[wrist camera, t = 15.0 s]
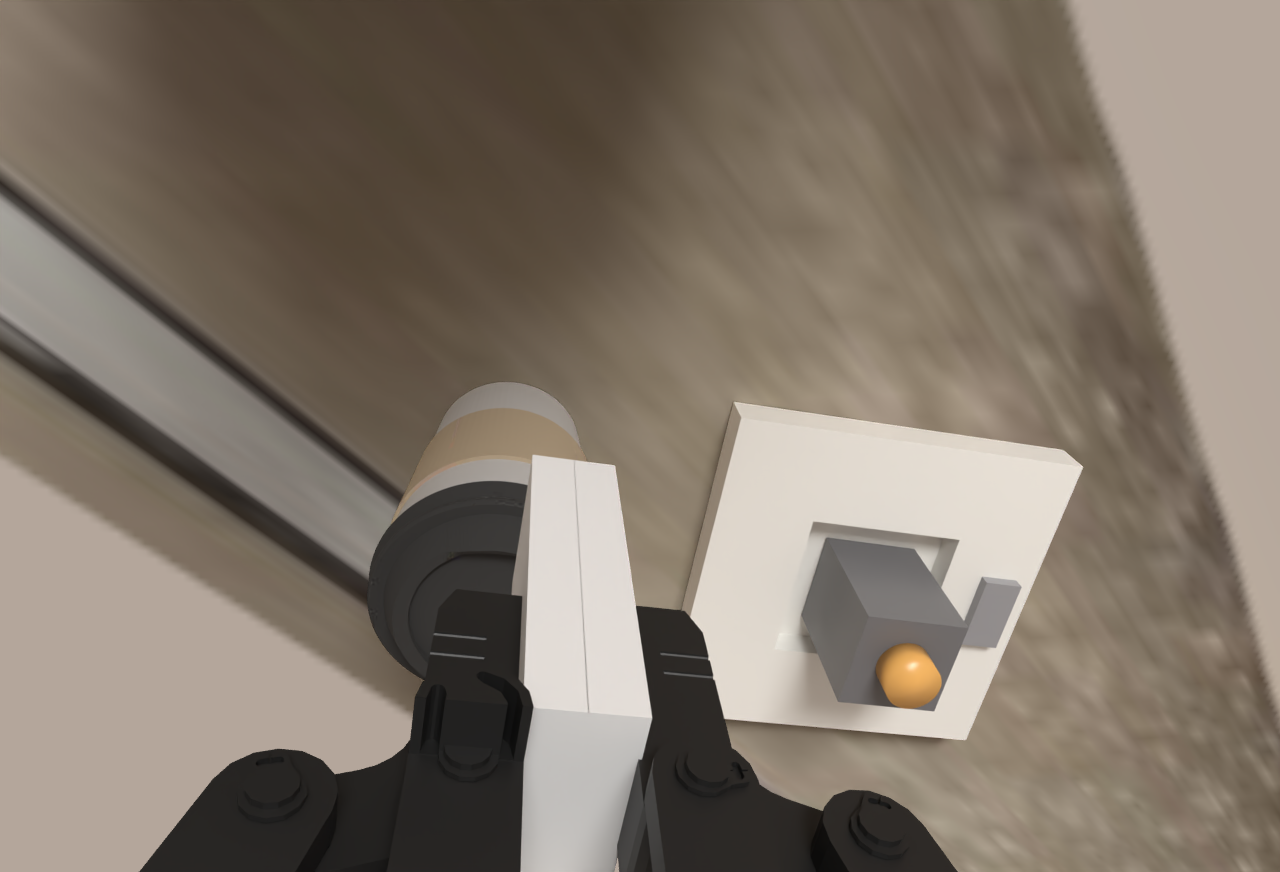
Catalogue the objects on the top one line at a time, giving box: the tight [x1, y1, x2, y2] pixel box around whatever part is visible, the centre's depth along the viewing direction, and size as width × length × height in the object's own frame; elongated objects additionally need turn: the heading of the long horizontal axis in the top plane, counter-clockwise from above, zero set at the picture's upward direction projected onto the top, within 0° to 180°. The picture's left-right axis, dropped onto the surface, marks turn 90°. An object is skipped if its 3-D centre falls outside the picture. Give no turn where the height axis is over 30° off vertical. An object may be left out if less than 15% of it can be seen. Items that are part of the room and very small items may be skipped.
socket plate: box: [681, 402, 1083, 740], centre depth 49 cm, size 18×18×3 cm
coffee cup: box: [367, 382, 587, 680], centre depth 38 cm, size 9×9×15 cm
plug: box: [801, 537, 969, 711], centre depth 46 cm, size 5×5×8 cm
